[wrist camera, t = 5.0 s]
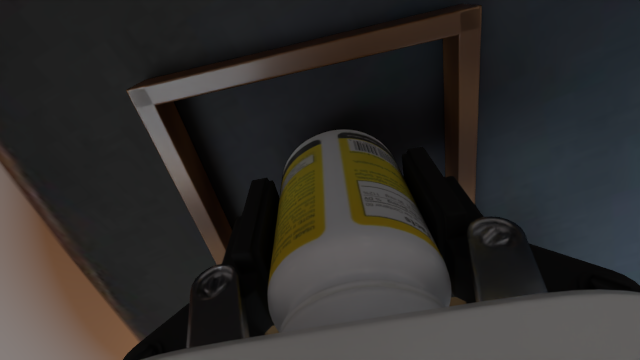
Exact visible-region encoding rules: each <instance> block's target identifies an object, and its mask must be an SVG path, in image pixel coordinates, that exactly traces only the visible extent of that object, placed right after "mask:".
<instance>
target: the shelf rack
mask: <svg viewBox="0 0 640 360" xmlns="http://www.w3.org/2000/svg"><path fill="white" fill-rule="evenodd" d="M481 16H482V6H481V5H471V4H459V5H455V6H451V7H447V8H443V9H439V10H435V11H430V12H426V13H422V14H418V15H414V16H410V17H405V18H401V19H397V20H393V21H389V22H385V23H380V24H376V25H372V26H368V27H364V28H360V29H355V30H351V31H347V32H343V33H339V34H335V35H330V36H326V37H322V38H318V39H314V40H310V41H305V42H301V43H297V44H293V45H289V46H285V47H280V48H276V49H272V50H268V51H264V52H260V53H256V54H251V55H247V56H243V57H239V58H235V59H231V60H226V61H222V62H218V63H214V64H210V65H206V66H201V67H197V68H193V69H189V70H185V71H181V72H176V73H172V74H168V75H164V76H159V77H155V78H151V79H147V80H144V81H142V82H140V83H138V84H136V85H134V86H133V87H131V88H129V89H127V90H126V91H127V93H128V95H129V97H130V99H131V101H132V103H133V105H134V107H135V108H136V110H137V112H138V114H139V116H140V118H141V120H142V122H143V124H144V126H145V128H146V130H147V131H148V133H149V135H150V137H151V139H152V141H153V143H154V145H155V147H156V149H157V151H158V153H159V154H160V156H161V158H162V160H163V162H164V164H165V166H166V168H167V170H168V172H169V174H170V175H171V177H172V179H173V181H174V183H175V185H176V187H177V189H178V191H179V193H180V195H181V197H182V198H183V200H184V202H185V204H186V206H187V208H188V210H189V212H190V214H191V216H192V218H193V220H194V221H195V223H196V225H197V227H198V229H199V231H200V233H201V235H202V237H203V239H204V241H205V243H206V244H207V246H208V248H209V250H210V252H211V254H212V256H213V258H214V260H215V262H216V264H217V265H219V264H222V262H223V258H224V255H225V252H226V249H227V246H228V242H229V239H230V236H231V233H232V229H231V227H230V225H229V223H228V220H227V218H226V216H225V214H224V212H223V209H222V207H221V205H220V203H219V201H218V198H217V196H216V194H215V192H214V190H213V187H212V185H211V183H210V181H209V179H208V176H207V174H206V172H205V170H204V168H203V165H202V163H201V161H200V159H199V157H198V154H197V152H196V150H195V148H194V146H193V143H192V141H191V139H190V137H189V135H188V133H187V130H186V128H185V126H184V124H183V122H182V119H181V117H180V115H179V113H178V111H177V108H176V106H175V104H174V102H173V101H178V100H182V99H186V98H190V97H195V96H199V95H203V94H208V93H212V92H216V91H220V90H225V89H229V88H233V87H238V86H242V85H246V84H250V83H255V82H259V81H263V80H268V79H272V78H276V77H280V76H285V75H289V74H293V73H298V72H302V71H306V70H310V69H315V68H319V67H323V66H328V65H332V64H336V63H340V62H345V61H349V60H353V59H358V58H362V57H366V56H370V55H375V54H379V53H383V52H388V51H392V50H396V49H400V48H405V47H409V46H413V45H418V44H422V43H426V42H430V41H435V40H439V39H443V72H444V123H445V174H446V177H448V176H453V177H454V178H455V179H456V180H457V181H458V183H459V184H460V185H461V187H462V188H463V189H464V191H465V192H466V194H467V195H468V196H469V198H470V199H471V200H472V202H473V203H474V204H475V184H476V156H477V128H478V100H479V72H480V44H481ZM464 302H465V301H463V300H461V299H459V298H457V297H452V298H451V301H450V305H449V306H455V305H462V304H464ZM267 332H268V335H269V334H275V333H279V331H278V330H277V329H276V327H275V325H274V326H272V327H271V328H270V329H269V330H268V331H267Z"/></svg>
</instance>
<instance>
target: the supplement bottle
mask: <svg viewBox="0 0 640 360" xmlns="http://www.w3.org/2000/svg"><path fill="white" fill-rule="evenodd" d="M267 295H268V307H269V312H270V315H271V318H272V321H273V323H274V325H275V327H276V329H277V330H278V331H279V333H281V332H287V331H293V330H300V329H306V328H312V327H319V326H325V325H331V324H338V323H344V322H350V321H357V320H363V319H370V318H376V317H383V316H389V315H396V314H402V313H409V312H415V311H422V310H429V309H435V308H442V307H449V305H450V301H451V282H450V277H449V273H448V270H447V267H446V264H445V262H444V260H443V258H442V256H441V254H440V252H439V250H438V248H437V245H436V243H435V241H434V239H433V237H432V235H431V233H430V231H429V229H428V227H427V225H426V223H425V221H424V219H423V216H422V214H421V213H420V210H419V208H418V206H417V204H416V202H415V200H414V198H413V196H412V194H411V192H410V190H409V188H408V186H407V184H406V182H405V179H404V177H403V175H402V173H401V171H400V169H399V168H398V166H397V164H396V161H395V159H394V157H393V156H392V154H391V153H390V151H389V150H388V149H387V148H386V147H385V146H384V145H383V144H382V143H381V142H380V141H379V140H377V139H376V138H374V137H372V136H370V135H368V134H366V133H363V132H360V131H355V130H345V129H343V130H332V131H328V132H324V133H321V134H319V135H316V136H314V137H312V138H310V139H308V140H307V141H305V142H304V143H302V144H301V145H300V146H299V147H298V148H297V149H296V150H295V151H294V152H293V153H292V155H291V156H290V158H289V159H288V161H287V163H286V166H285V168H284V172H283V177H282V184H281V191H280V199H279V206H278V214H277V222H276V229H275V237H274V244H273V252H272V260H271V268H270V275H269V282H268V293H267Z"/></svg>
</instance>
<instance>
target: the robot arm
mask: <svg viewBox="0 0 640 360" xmlns="http://www.w3.org/2000/svg"><path fill="white" fill-rule="evenodd" d="M402 163H403V174H404V179H405V182H406V184H407V186H408V188H409V190H410V192H411V194H412V196H413V198H414V200H415V202H416V204H417V206H418V208H419V210H420V213H421V214H422V216H423V219H424V221H425V223H426V225H427V227H428V229H429V231H430V233H431V235H432V237H433V239H434V241H435V243H436V245H437V248H438V250H439V252H440V254H441V256H442V258H443V260H444V262H445V264H446V267H447V270H448V273H449V277H450V282H451V298H452V297H457V298H459V299H461V300H463V301H465V302H464V304H462V305H455V306H449V307H442V308H435V309H429V310H422V311H415V312H409V313H402V314H396V315H389V316H383V317H376V318H370V319H363V320H357V321H350V322H344V323H338V324H331V325H325V326H319V327H312V328H306V329H300V330H293V331H287V332H281V333H275V334H269V335H268V332H267V331H268V330H269V329H270V328H271V327H272V326H274V323H273V321H272V318H271V315H270V312H269V307H268V295H267V293H268V282H269V275H270V268H271V260H272V252H273V244H274V237H275V229H276V222H277V214H278V206H279V199H280V198H279V195H278V192H277V190H276V187H275V184H274V182H273V180H272V181H269V180H268V179H267V178H263V179H258V180H253V181H252V183H251V186H250V190H249V193H248V197H247V200H246V204H245V207H244V211H243V214H242V216H239V217H237V218H236V220H235V223H234V226H233V230H232V233H231V236H230V239H229V242H228V246H227V249H226V252H225V255H224V258H223V262H222V264H219V265H215V266H212V267H210V268H208V269H206V270H205V271H204V272H202V273H201V274H200V275H199V276H198V277H197V278H196V279H195V281H194V283H193V284H192V287H191V292H190V303H188V304H187V305H186V306H185V307H183V308H182V309H181V310H180V311H178V312H177V313H176V314H175V315H174V316H172V317H171V318H170V319H169V320H167V321H166V322H165V323H164V324H162V325H161V326H160V327H159V328H157V329H156V330H155V331H154V332H152V333H151V334H150V335H149V336H147V337H146V338H145V339H144V340H142V341H141V342H140V343H139V344H137V345H136V346H135V347H134V348H133V349H132V350H131V351H130V352H129V353H128V354H127V355H126V356H125V357H124V359H123V360H640V286H639V285H638V284H637V283H636V282H635V281H633V280H631V279H630V278H628V277H627V276H625V275H622V274H620V273H618V272H615V271H612V270H609V269H606V268H603V267H600V266H597V265H594V264H591V263H588V262H585V261H581V260H578V259H575V258H572V257H569V256H566V255H563V254H560V253H557V252H554V251H550V250H547V249H544V248H541V247H538V246H535V245H532V244H529V243H528V241H527V238H526V235H525V233H524V232H523V230H522V229H521V227H519V226H518V225H517V224H516V223H514V222H512V221H510V220H508V219H504V218H500V217H483V215H482V214H481V213H480V211H479V210H478V209H477V207H476V206H475V204H474V203H473V202H472V200H471V199H470V198H469V196H468V195H467V194H466V192H465V191H464V189H463V188H462V187H461V185H460V184H459V183H458V181H457V180H456V179H455V178H454V177H453V176H448V177H443V175H442V174H441V173H440V171H439V170H438V168H437V167H436V165H435V164H434V162H433V161H432V159H431V158H430V156H429V155H428V153H427V152H426V150H425V149H424V148H423V147H418V148H413V149H408V150H407V154H402Z"/></svg>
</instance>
